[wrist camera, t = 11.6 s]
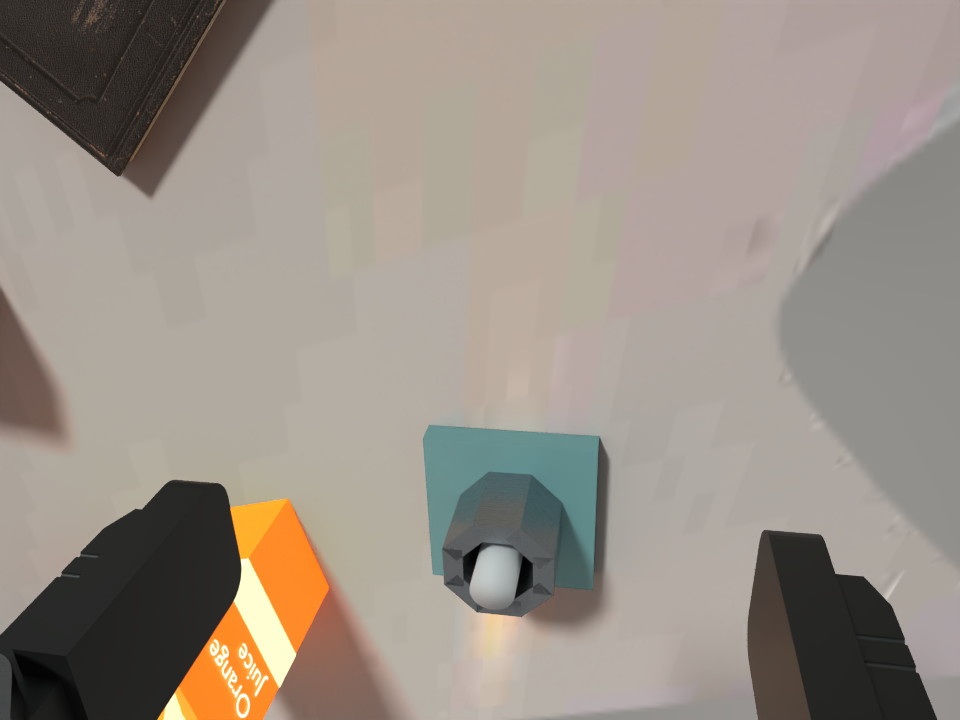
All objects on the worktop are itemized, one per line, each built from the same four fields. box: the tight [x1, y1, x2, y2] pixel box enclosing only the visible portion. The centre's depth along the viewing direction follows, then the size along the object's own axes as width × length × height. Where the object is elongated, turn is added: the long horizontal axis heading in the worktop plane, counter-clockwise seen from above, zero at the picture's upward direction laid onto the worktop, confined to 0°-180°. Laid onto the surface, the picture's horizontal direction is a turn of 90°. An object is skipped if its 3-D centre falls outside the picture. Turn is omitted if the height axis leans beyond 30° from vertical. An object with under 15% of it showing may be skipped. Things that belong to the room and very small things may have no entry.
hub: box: [442, 471, 562, 617], centre depth 45 cm, size 6×6×5 cm
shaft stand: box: [423, 425, 599, 610], centre depth 45 cm, size 10×10×8 cm
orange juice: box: [157, 499, 329, 720], centre depth 45 cm, size 8×9×20 cm
